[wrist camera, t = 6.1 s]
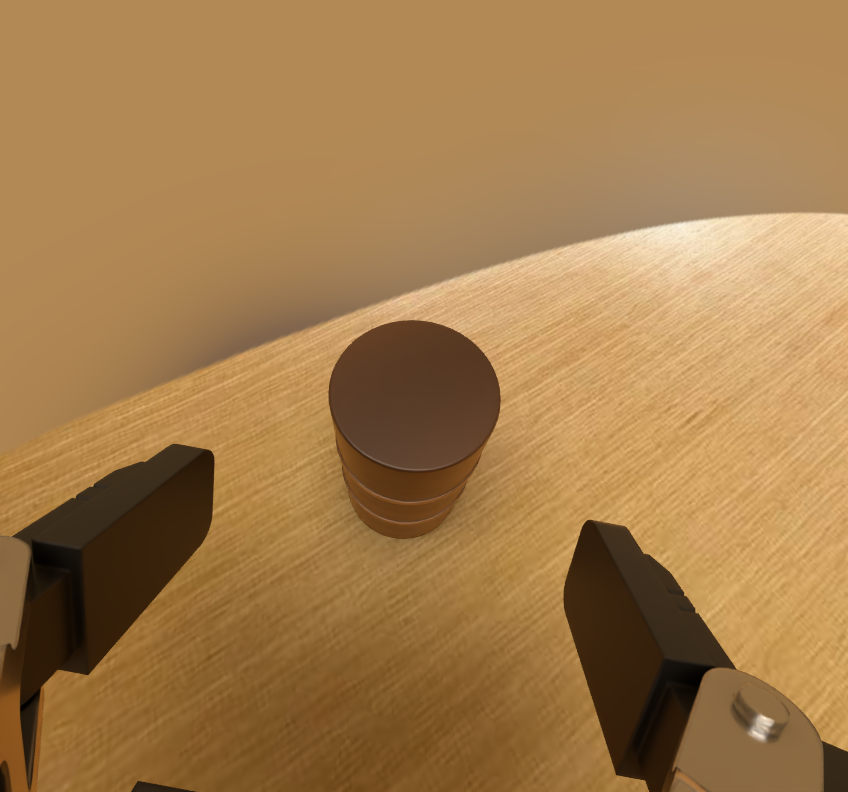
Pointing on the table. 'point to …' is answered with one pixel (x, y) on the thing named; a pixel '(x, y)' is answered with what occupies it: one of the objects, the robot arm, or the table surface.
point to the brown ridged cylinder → (411, 422)
